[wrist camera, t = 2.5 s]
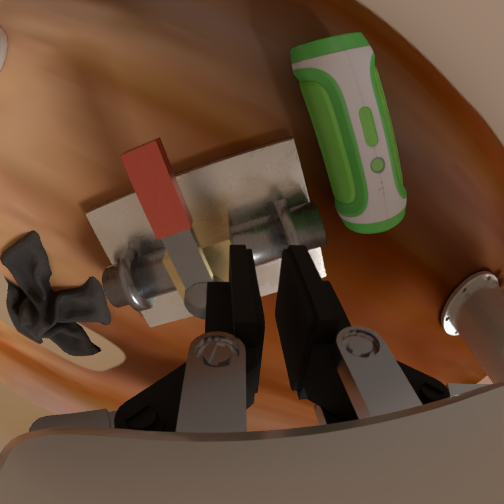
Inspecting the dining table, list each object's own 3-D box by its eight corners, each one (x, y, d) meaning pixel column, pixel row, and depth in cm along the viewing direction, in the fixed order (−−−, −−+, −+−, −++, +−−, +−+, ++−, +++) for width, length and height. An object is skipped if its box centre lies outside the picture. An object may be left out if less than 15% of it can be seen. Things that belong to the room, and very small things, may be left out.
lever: (234, 291, 28) (236, 313, 25) (196, 302, 28) (194, 324, 26) (170, 131, 21) (163, 137, 18) (126, 149, 21) (113, 158, 19)
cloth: (7, 211, 30) (-21, 234, 24) (132, 278, 36) (120, 311, 31) (-3, 325, 38) (-19, 351, 33) (91, 375, 44) (82, 405, 39)
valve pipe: (291, 137, 29) (310, 151, 23) (323, 270, 37) (342, 309, 31) (84, 211, 31) (56, 243, 24) (147, 322, 38) (137, 364, 32)
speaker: (388, 193, 33) (423, 220, 26) (330, 214, 34) (355, 247, 27) (346, 37, 24) (382, 26, 18) (277, 54, 25) (295, 44, 19)
